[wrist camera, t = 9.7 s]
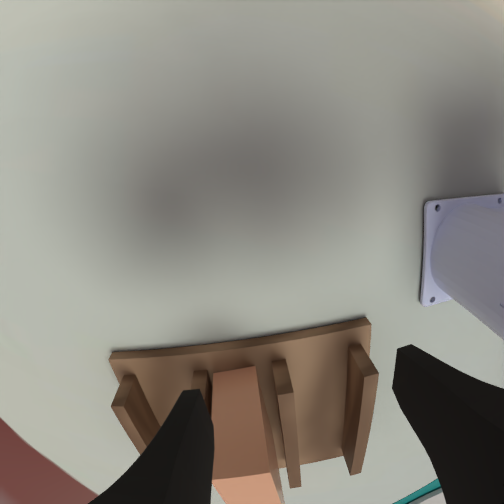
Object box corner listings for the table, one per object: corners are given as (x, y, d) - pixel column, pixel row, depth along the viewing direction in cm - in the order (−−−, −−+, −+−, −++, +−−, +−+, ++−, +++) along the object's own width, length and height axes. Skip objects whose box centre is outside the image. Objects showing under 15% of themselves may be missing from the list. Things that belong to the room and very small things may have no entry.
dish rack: (366, 317, 21) (391, 352, 17) (354, 445, 26) (366, 477, 22) (112, 352, 21) (92, 389, 17) (172, 468, 26) (168, 501, 22)
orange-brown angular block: (255, 365, 21) (270, 472, 12) (272, 433, 23) (287, 522, 15) (213, 373, 21) (209, 480, 12) (238, 439, 23) (244, 527, 14)
